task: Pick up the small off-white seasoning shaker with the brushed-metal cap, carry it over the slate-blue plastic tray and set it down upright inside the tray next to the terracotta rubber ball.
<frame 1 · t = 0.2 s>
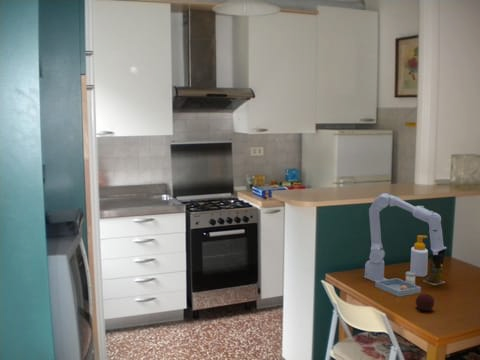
hand: (439, 266, 239), 11 cm above the table, tool pointing down, fingers open, 7 cm apart
tray: (397, 290, 235), on the table
soap bottle: (418, 273, 262), on the table
shaker: (410, 285, 243), on the table
dark purple sphere: (424, 310, 210), on the table
condiment: (433, 282, 248), on the table
ball: (403, 292, 231), resting on tray
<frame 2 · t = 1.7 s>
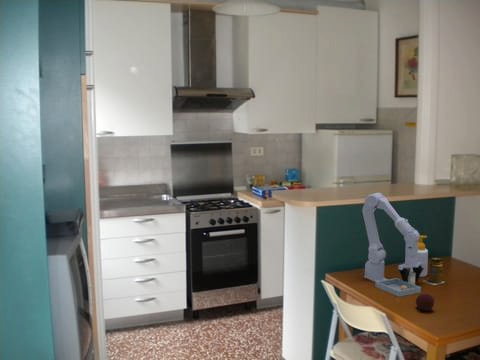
hand: (410, 282, 242), 2 cm above the table, tool pointing down, fingers open, 6 cm apart
nothing on the table moved.
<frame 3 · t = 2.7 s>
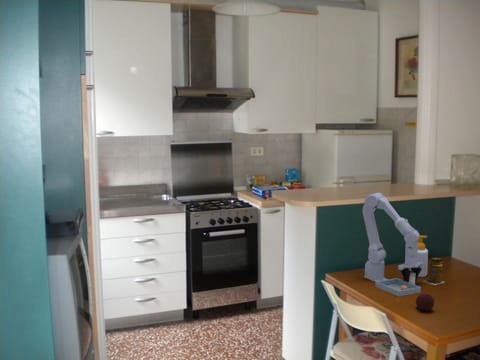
hand: (410, 282, 242), 2 cm above the table, tool pointing down, fingers closed on shaker, 4 cm apart
shaker: (410, 285, 243), on the table, touching gripper
everything else where it was.
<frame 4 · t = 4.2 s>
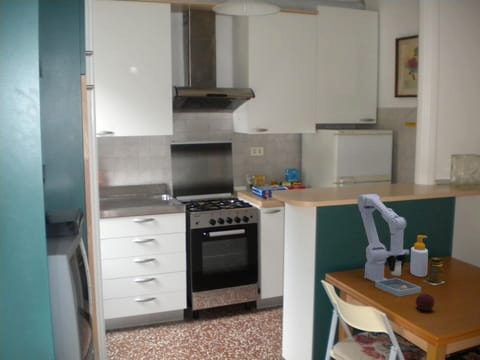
hand: (395, 270, 237), 9 cm above the table, tool pointing down, fingers closed on shaker, 4 cm apart
shaker: (396, 274, 237), point 7 cm above the table, touching gripper
everything else where it was.
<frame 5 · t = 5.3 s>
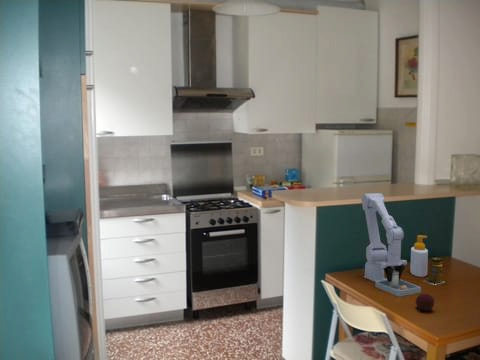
hand: (393, 280, 237), 4 cm above the table, tool pointing down, fingers closed on shaker, 4 cm apart
shaker: (393, 284, 237), point 2 cm above the table, touching gripper
everything else where it was.
when the fingers open (4 cm above the table, at t = 6.1 s): shaker drops 2 cm, resting on tray.
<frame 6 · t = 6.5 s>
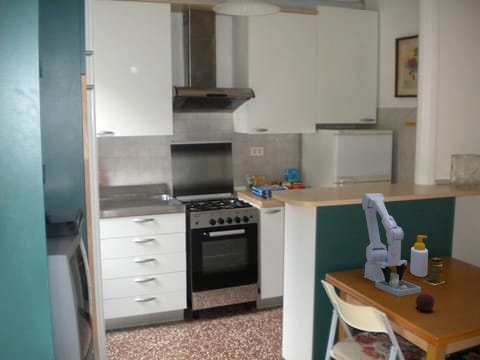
hand: (393, 280, 237), 4 cm above the table, tool pointing down, fingers open, 7 cm apart
shaker: (393, 287, 238), point 1 cm above the table, touching tray
everything else where it was.
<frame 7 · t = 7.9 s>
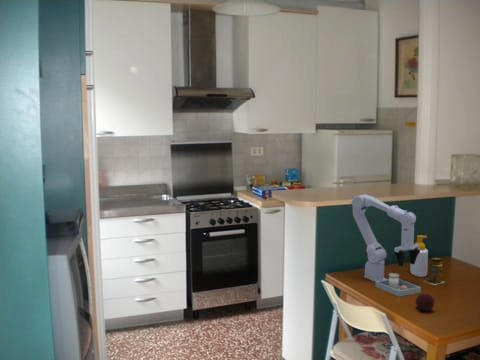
hand: (406, 264, 241), 10 cm above the table, tool pointing down, fingers open, 7 cm apart
nothing on the table moved.
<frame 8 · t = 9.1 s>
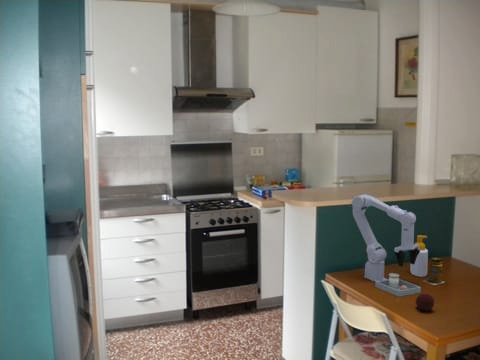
hand: (406, 264, 241), 10 cm above the table, tool pointing down, fingers open, 7 cm apart
nothing on the table moved.
at the end: shaker inside the target area on the tray (2.8 cm from its centre), point 0.5 cm above the tray's base; shaker tilted 1°; the gripper is holding nothing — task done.
